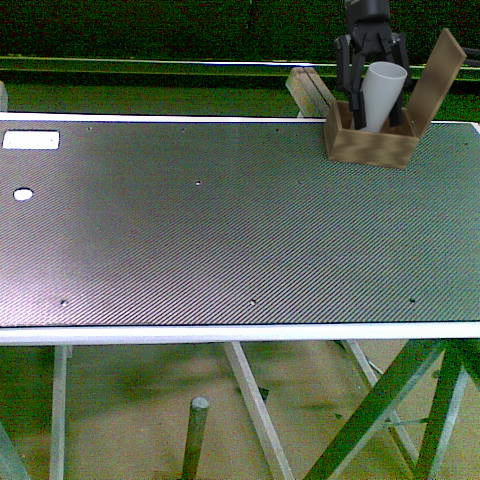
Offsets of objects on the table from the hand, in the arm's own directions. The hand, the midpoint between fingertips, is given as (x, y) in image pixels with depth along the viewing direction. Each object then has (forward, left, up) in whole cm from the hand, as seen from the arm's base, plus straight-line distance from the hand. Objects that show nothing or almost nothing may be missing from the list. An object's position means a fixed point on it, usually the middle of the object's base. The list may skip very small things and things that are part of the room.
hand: (378, 127), depth 89 cm
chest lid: (-7, -3, +8) cm, 11 cm away
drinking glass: (+1, -3, -6) cm, 7 cm away
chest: (0, -3, -7) cm, 8 cm away
